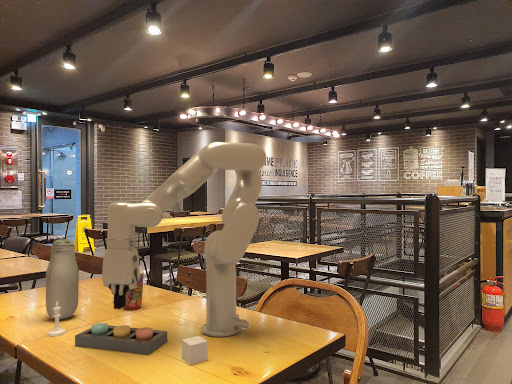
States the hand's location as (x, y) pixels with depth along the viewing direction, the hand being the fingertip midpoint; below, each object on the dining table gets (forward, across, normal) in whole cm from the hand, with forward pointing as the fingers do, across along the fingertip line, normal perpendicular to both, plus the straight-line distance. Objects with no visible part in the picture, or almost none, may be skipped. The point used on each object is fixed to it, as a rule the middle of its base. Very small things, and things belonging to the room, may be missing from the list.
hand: (119, 307), depth 110 cm
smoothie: (+11, +17, -32) cm, 38 cm away
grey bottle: (+11, +34, -16) cm, 39 cm away
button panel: (+10, -1, 0) cm, 11 cm away
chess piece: (+11, +24, -2) cm, 27 cm away
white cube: (+10, -26, +4) cm, 28 cm away
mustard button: (+8, -1, 0) cm, 9 cm away
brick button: (+8, -8, 0) cm, 12 cm away
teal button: (+9, +7, 0) cm, 11 cm away
